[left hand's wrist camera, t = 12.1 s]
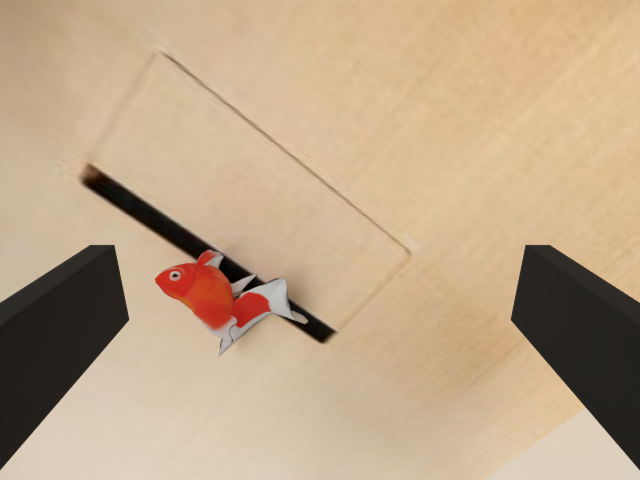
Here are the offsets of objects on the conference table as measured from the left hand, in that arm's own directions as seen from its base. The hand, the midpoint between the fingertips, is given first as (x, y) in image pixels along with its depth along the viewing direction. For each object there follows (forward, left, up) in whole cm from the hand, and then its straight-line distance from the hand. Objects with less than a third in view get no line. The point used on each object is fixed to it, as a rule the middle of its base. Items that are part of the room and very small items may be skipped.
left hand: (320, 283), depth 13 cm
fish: (-12, -11, -28) cm, 32 cm away
